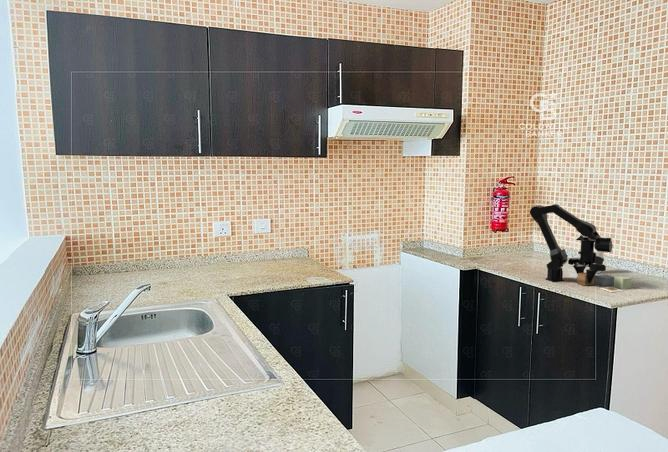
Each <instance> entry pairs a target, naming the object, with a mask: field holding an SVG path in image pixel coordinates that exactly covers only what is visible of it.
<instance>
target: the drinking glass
mask: <svg viewBox="0 0 668 452" xmlns="http://www.w3.org/2000/svg"><path fill="white" fill-rule="evenodd" d="M594 245H595V243H594ZM594 252H595V253H596V256H598V257H601V258H604V255H605V254H604V253H605V252H601V251H597V250H595V247H594ZM593 264H597V263H593ZM600 273H601V274H602V271H598V272H596V274H600Z"/></svg>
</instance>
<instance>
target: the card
mask: <svg viewBox="0 0 668 452" xmlns="http://www.w3.org/2000/svg"><path fill="white" fill-rule="evenodd" d="M599 290H603V291H605V290H606V292H608V291H609V293H619V292H625V289H619V288H616V287H614V286H605V287H599Z"/></svg>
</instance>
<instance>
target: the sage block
mask: <svg viewBox="0 0 668 452" xmlns="http://www.w3.org/2000/svg"><path fill="white" fill-rule="evenodd" d="M632 282H633V281H632V278H631V277H628V276H625V275H621V276H620V275H617V276H614V285H613V287H614V288H617V289H620V290H629V288H631V289H632Z"/></svg>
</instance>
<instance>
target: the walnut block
mask: <svg viewBox="0 0 668 452" xmlns="http://www.w3.org/2000/svg"><path fill="white" fill-rule="evenodd" d="M576 281H577V284H579V285H583V286H594V285H595V283H594V277H593V279H592V282H591V283H588V279H587V273H586V272H584V273H578V274H577V280H576Z"/></svg>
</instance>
